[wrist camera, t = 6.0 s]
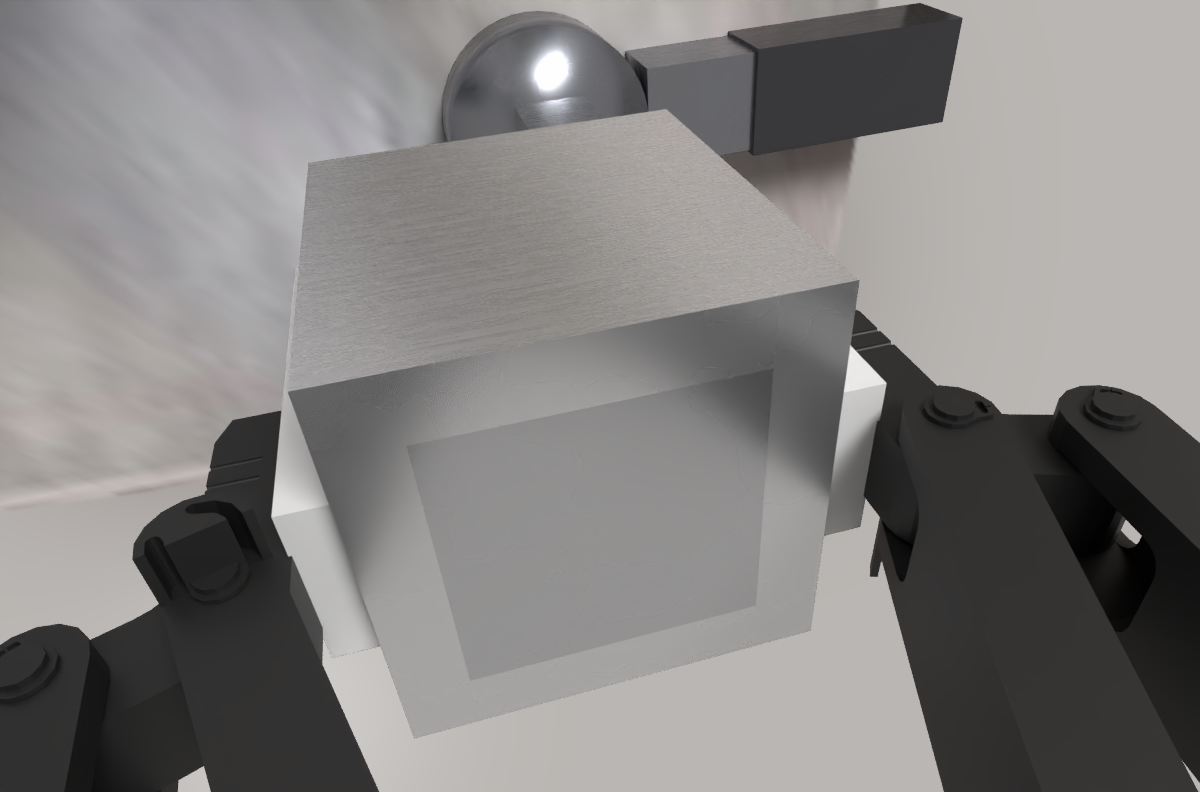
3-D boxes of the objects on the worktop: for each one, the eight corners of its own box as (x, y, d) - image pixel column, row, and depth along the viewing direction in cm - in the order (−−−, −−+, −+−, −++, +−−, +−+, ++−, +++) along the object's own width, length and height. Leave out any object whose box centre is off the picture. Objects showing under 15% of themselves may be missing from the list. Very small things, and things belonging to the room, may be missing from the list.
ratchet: (459, 217, 31) (492, 313, 26) (424, 25, 27) (453, 89, 21) (897, 139, 35) (1013, 208, 29) (927, -44, 31) (1070, -5, 25)
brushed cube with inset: (390, 449, 18) (414, 738, 12) (308, 162, 14) (287, 391, 8) (671, 390, 19) (810, 630, 13) (665, 109, 15) (859, 279, 9)
